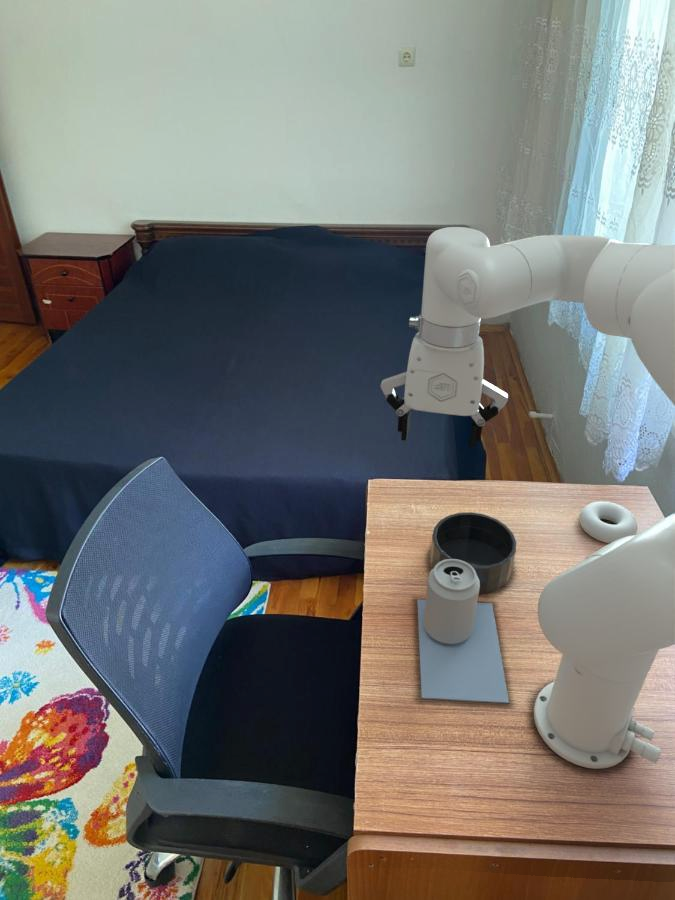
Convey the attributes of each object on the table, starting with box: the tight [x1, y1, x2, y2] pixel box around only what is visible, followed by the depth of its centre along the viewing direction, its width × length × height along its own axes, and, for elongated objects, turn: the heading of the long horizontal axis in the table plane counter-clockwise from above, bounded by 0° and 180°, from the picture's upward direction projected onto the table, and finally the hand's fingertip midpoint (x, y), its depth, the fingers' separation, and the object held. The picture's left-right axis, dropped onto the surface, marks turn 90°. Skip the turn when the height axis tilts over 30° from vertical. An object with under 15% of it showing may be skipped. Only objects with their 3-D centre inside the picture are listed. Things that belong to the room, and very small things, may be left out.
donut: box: [579, 500, 638, 544], centre depth 118 cm, size 10×4×10 cm
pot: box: [429, 511, 517, 595], centre depth 109 cm, size 14×14×6 cm
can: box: [424, 559, 480, 644], centre depth 96 cm, size 8×8×12 cm
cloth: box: [416, 599, 510, 705], centre depth 96 cm, size 18×12×1 cm, turn 176°
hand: (438, 439), depth 92 cm, fingers open, 9 cm apart
